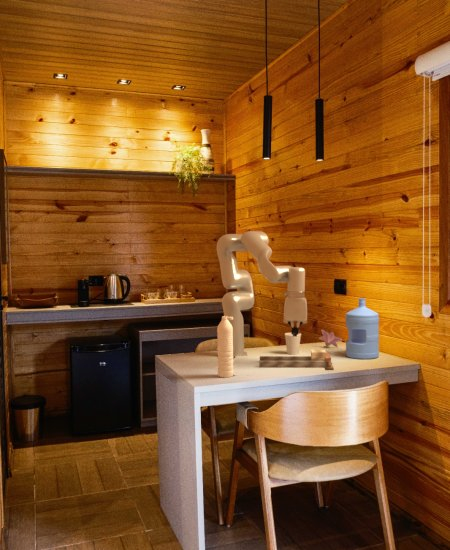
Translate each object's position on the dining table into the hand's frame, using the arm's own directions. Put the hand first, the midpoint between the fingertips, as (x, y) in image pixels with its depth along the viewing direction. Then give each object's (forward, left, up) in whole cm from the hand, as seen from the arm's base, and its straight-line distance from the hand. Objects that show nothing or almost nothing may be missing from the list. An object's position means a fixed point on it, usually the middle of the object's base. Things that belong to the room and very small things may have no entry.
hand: (294, 336), depth 250 cm
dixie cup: (0, +30, -14) cm, 33 cm away
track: (0, -1, -14) cm, 14 cm away
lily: (+20, +47, -14) cm, 53 cm away
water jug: (+33, +23, -14) cm, 43 cm away
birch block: (+10, -1, -13) cm, 16 cm away
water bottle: (-29, -21, -14) cm, 38 cm away
